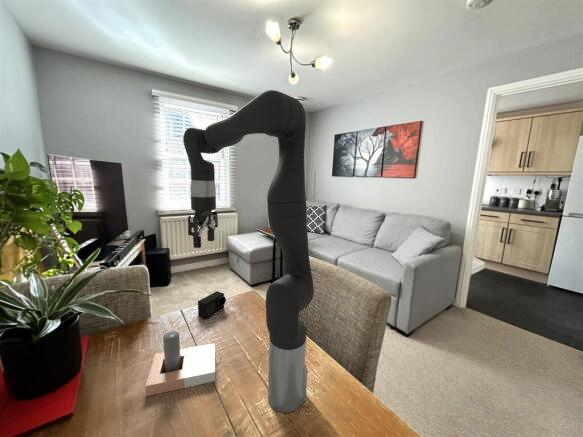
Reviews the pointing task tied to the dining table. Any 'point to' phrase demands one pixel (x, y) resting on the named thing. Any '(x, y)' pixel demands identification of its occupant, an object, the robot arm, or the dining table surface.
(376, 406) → the dining table surface
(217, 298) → the digital camera
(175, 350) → the pin
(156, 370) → the block
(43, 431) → the dining table surface
